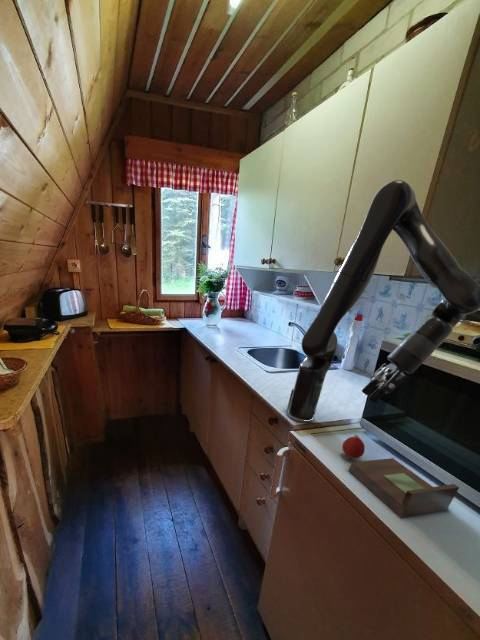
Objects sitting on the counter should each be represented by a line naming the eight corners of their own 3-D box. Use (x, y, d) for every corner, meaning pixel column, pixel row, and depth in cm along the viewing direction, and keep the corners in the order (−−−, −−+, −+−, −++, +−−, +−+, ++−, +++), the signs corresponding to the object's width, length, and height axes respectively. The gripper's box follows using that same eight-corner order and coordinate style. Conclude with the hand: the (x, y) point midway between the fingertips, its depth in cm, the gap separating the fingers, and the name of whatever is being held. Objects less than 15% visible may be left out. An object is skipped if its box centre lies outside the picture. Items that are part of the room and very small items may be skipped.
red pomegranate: (355, 454, 94) (364, 431, 91) (363, 465, 89) (372, 442, 86) (336, 451, 95) (344, 429, 92) (343, 462, 89) (351, 439, 86)
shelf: (348, 470, 86) (355, 450, 83) (389, 466, 90) (398, 446, 88) (400, 517, 71) (412, 494, 68) (447, 509, 75) (459, 487, 73)
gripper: (391, 342, 91) (351, 384, 96) (409, 347, 78) (362, 395, 83) (413, 357, 90) (372, 398, 96) (435, 364, 77) (385, 412, 82)
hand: (367, 397), depth 89 cm, fingers open, 8 cm apart
